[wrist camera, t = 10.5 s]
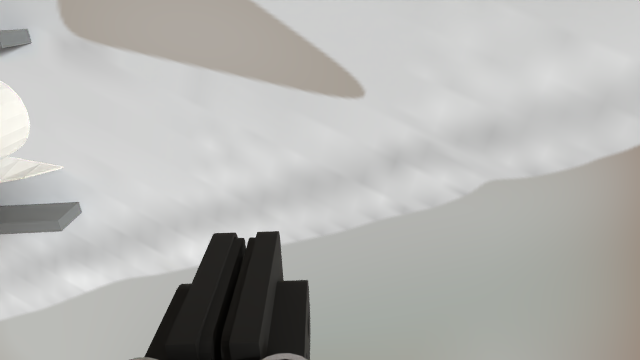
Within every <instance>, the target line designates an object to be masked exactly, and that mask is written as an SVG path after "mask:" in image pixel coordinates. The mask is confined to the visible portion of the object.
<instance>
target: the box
mask: <svg viewBox="0 0 640 360" xmlns="http://www.w3.org/2000/svg"><path fill="white" fill-rule="evenodd" d="M29 43H31V39H30V36H29V33H28V29H20V30H2V31H0V48H6V47H12V46H17V45H23V44H29ZM81 213H82V211H81V208H80V205H79V202H72V203H53V204H33V205H13V206H0V234H15V233H36V232H56V231H62V230H63V229H64V228H66V227H67V226H68V225H69V224H70V223H71V222H72V221H73V220H74V219H75V218H76V217H77V216H78V215H80V214H81Z"/></svg>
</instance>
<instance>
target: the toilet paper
mask: <svg viewBox="0 0 640 360" xmlns="http://www.w3.org/2000/svg"><path fill="white" fill-rule="evenodd" d="M29 129H30V121H29V116H28V111H27V109H26V108H25V106H24V104H23V102H22V100H21V98H20V97H19V96H18V95H17V94H16V93H15V92H14V91H13V90H12V89H11V87H9V86H8V85H6V84H5V83H3V82H2V81H0V183H1V182H7V181H13V180H18V179H24V178H28V177H32V176H36V175H40V174H43V173H47V172H51V171H55V170H59V169H63V166H57V165H52V164H47V163H41V162H36V161H30V160H25V159H19V158H14V157H9V156H8V155H10V154H12V153H14V152H15V151H16V150H18V149H19V148H20V147H22V146H23V145H24V143H25V141H26V140H27V138H28V136H29Z"/></svg>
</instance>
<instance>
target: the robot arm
mask: <svg viewBox="0 0 640 360" xmlns="http://www.w3.org/2000/svg"><path fill="white" fill-rule="evenodd" d="M131 360H310V304H309V286H308V281H307V280H300V281H283V270H282V259H281V245H280V235H279V231H274V232H257V235H256V238H249V241H248V244H247V248H246V246H245V240H244V238H238V237H237V234H236V233H215V234H213V236H212V239H211V241H210V243H209V245H208V248H207V250H206V252H205V254H204V257H203V259H202V261H201V264H200V266H199V268H198V270H197V273H196V275H195V277H194V280H193V282H192V284H181V285H179V287H178V289H177V290H176V292H175V295H174V297H173V299H172V301H171V303H170V305H169V307H168V309H167V311H166V313H165V315H164V317H163V319H162V322H161V324H160V326H159V328H158V330H157V332H156V334H155V336H154V338H153V340H152V342H151V344H150V346H149V349H148V351H147V353H146V355H145V357H143V358H134V359H131Z"/></svg>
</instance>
